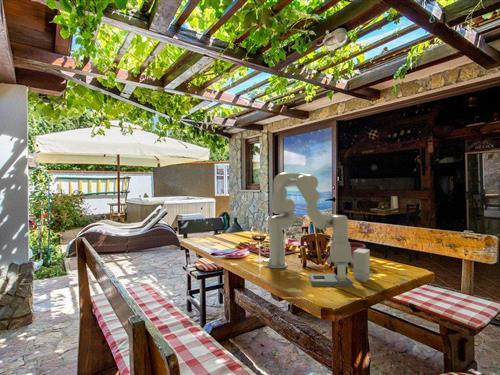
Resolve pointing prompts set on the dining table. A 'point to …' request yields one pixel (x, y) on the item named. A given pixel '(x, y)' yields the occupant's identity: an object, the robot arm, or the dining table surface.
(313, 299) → the dining table surface
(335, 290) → the dining table surface
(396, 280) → the dining table surface
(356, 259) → the skincare box
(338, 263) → the plug
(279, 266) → the robot arm
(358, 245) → the plant pot
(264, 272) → the dining table surface
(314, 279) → the socket panel
